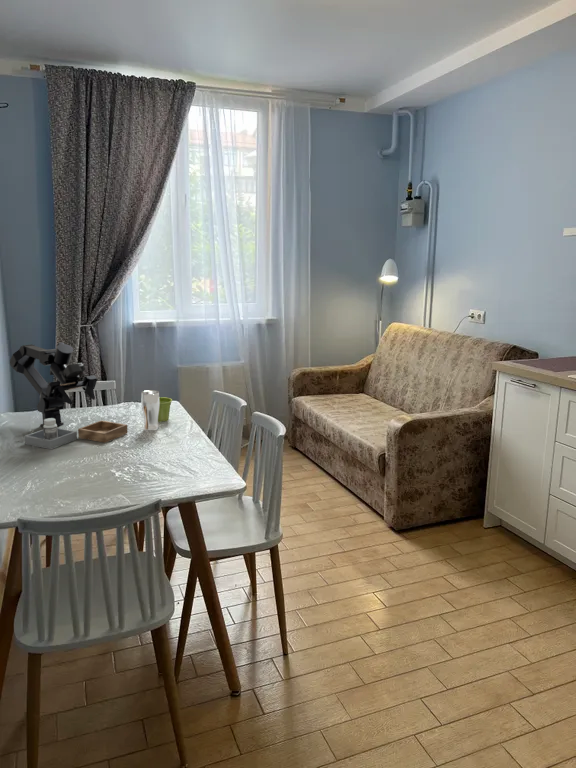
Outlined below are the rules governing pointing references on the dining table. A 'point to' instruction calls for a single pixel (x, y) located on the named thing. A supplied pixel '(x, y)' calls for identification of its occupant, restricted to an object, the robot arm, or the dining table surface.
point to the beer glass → (150, 409)
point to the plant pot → (164, 409)
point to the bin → (37, 440)
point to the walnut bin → (102, 431)
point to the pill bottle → (50, 429)
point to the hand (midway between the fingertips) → (83, 401)
